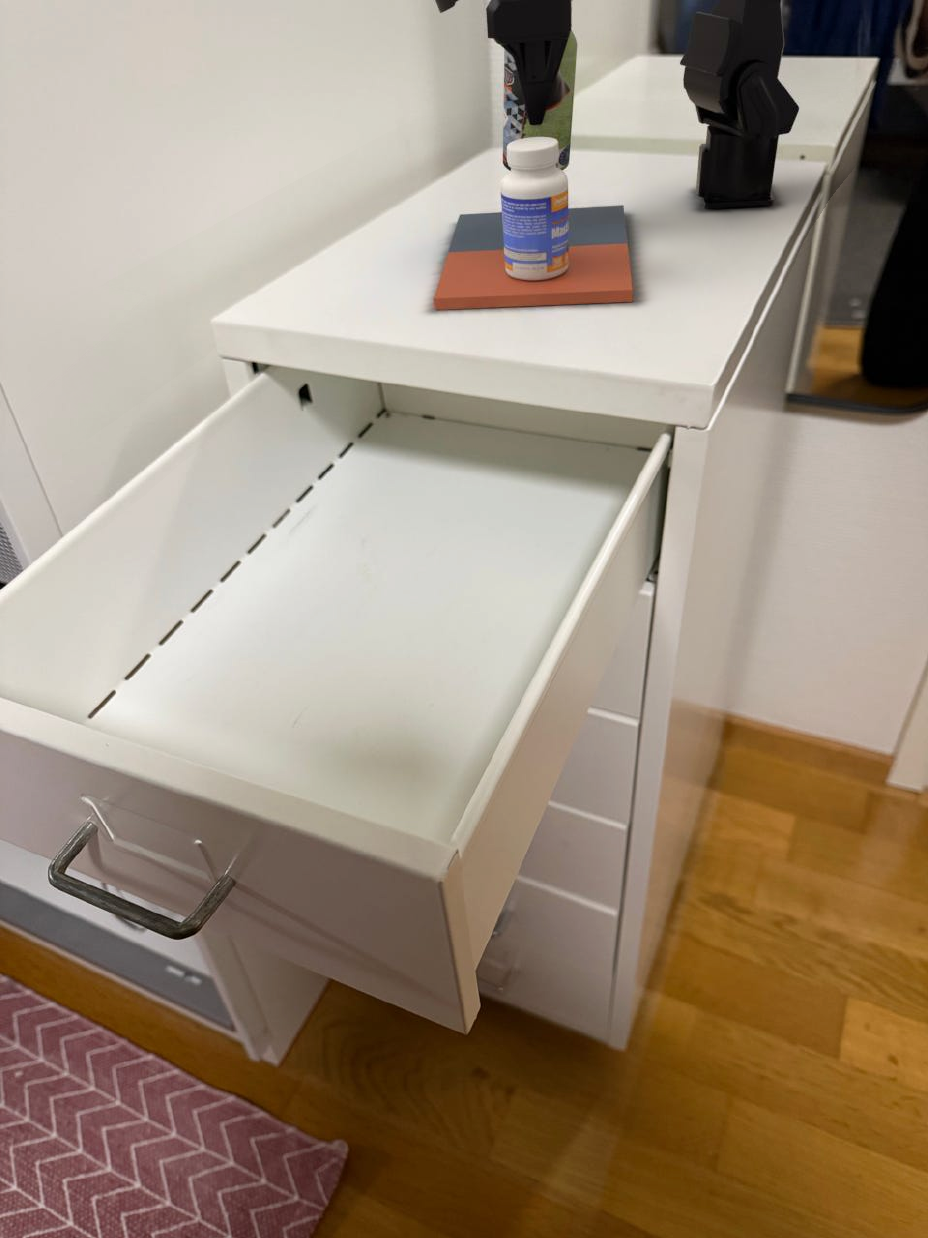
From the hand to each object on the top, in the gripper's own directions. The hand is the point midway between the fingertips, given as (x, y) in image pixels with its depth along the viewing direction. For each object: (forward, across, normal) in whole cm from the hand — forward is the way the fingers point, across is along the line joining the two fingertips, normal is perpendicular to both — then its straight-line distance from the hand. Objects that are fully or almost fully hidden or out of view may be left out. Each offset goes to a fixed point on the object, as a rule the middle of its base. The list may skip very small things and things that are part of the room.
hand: (537, 116), depth 76 cm
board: (+10, +6, 0) cm, 12 cm away
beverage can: (+5, 0, 0) cm, 5 cm away
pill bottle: (+9, +11, 0) cm, 14 cm away
